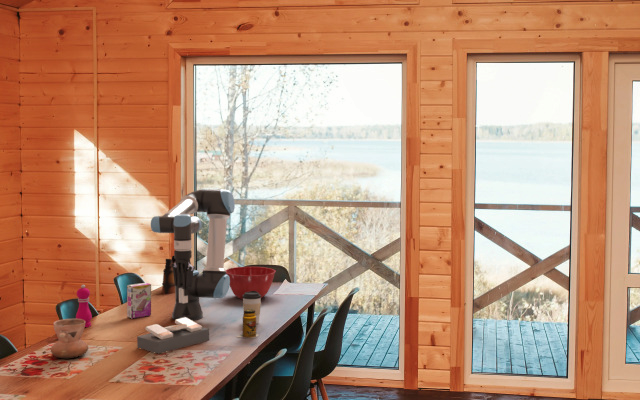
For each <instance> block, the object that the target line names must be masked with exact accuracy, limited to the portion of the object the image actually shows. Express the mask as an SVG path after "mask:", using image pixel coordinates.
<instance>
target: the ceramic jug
mask: <svg viewBox="0 0 640 400" xmlns="http://www.w3.org/2000/svg"><path fill="white" fill-rule="evenodd" d="M84 327H85V321H84V320H82V319H76V318H64V319H59V320H56V321H54V322H53V330H54V332H55V335H56V337H57V339H58V340H57V341H56V342H54V343H53V344H52V346H51V347H50V352H51V354H52V355H53V356H54V357H56V358H59V359H75V358H78V356H79V357H81V356H83V355H85V354H86V353H87V352H88V351H89V345H88V343H87V342H86V341H84V340H83V339H81V337H82V335H83V333H84V330H85V328H84ZM74 357H75V358H74Z"/></svg>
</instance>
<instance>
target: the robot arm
mask: <svg viewBox="0 0 640 400" xmlns="http://www.w3.org/2000/svg"><path fill="white" fill-rule="evenodd" d="M235 204H236V203H235V197H234V195H233V193H232V192H231V190H229V189H222V188H220V189H219V188H218V189H217V188H216V189H215V188H213V189H212V188H211V189H205V188H204V189H197V190H194V191H191V192H189V193H188V194H186V195H184V196H182V198H180V201H179V202H178V203H177V204H176V205H174V206H173V207H172V208H171V209H169V210H168V211H167V212H165V213H164V214H163V215H160V216H159V215H156V216H152V218H151V220H150V229H151V231H152V232H153V233H157V234H173V246H174V247H173V249H174V251H173V253H174V255H173V256H174V258H175V259H176V261H175V263H174V264H171V266H172V269H173V275H174V284H175V293H174V295H175V296H174V297H175V304H174V306H173V311H172V313H171V319H172V320H173V321H175V320H176V319H181V318H185V317H186V318H188V319H190V320H192V321H197V320H200V319H203V318H204V315H203V309H202V306H201V304H200V299H201V298H205V299H223V298H225V297H226V296H227V295H228V292H229V288H230V277H229V276H228V275H227V274H226V270H227V269H225V268H224V267H225V266H224V265H225V251H226V250H225V249H226V236H227V235H226V234H227V222H228V219H230V217H231V214H233V213H234V212H235V206H236V205H235ZM195 213H206V216H207V218H208V219H209V220H208V236H207V248H206V249H207V251H206V265H205V268H204V269H202V273H200V271H199V270H196V266H195V265H192V262H191V259H192V255H193V254H192V252H193V251H192V246H193V245H192V244H193V243H192V234H196V233H198V232H199V231H201V229H202V225H203V224H202V221H201V219H200V217H197V216H196V215H195V216H194V214H195ZM191 215H193V216H191Z"/></svg>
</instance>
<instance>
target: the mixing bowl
mask: <svg viewBox="0 0 640 400" xmlns="http://www.w3.org/2000/svg"><path fill="white" fill-rule="evenodd" d="M225 270H226V274H227V275H228V276H229V277H230V285H229V288H230V290H231V291H232V294H234V296H235V297H237V298H238V299H240V300H243V298H242V297H243V295H244V294H245V292H250V291H256V292H258V293H259V294H260V295H261V299H262V298H263V297H265V296H266V295H267V294H268V293H269V290H270V289H271V286H272V284H273V280H274V278H275V273H276V270H275V269H274V268H269V267H264V266H237V267H235V266H234V267H230V268H227V269H225Z"/></svg>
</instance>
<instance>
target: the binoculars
mask: <svg viewBox="0 0 640 400" xmlns="http://www.w3.org/2000/svg"><path fill="white" fill-rule="evenodd" d="M175 261H176V259H175V258H174V255H172V256H171V258H165V265H164V269H163V271H162V272H163V273H162V274H163V275H162V288H161V294H164V295H171V294H172V295H173V294H175V284H174V275H173V269H172V266H171V264H174V263H175Z"/></svg>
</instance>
